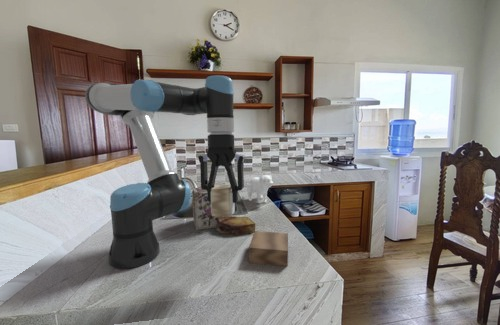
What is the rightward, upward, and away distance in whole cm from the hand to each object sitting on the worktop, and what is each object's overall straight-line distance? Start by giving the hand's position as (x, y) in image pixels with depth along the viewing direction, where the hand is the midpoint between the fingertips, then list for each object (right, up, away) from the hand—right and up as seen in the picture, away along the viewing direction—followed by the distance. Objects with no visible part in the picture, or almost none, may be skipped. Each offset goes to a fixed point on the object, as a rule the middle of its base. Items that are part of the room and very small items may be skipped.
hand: (223, 212), depth 69 cm
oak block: (0, 0, 0) cm, 0 cm away
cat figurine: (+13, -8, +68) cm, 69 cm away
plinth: (+15, -16, +9) cm, 23 cm away
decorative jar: (-11, -13, +35) cm, 38 cm away
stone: (+2, -14, +28) cm, 31 cm away
